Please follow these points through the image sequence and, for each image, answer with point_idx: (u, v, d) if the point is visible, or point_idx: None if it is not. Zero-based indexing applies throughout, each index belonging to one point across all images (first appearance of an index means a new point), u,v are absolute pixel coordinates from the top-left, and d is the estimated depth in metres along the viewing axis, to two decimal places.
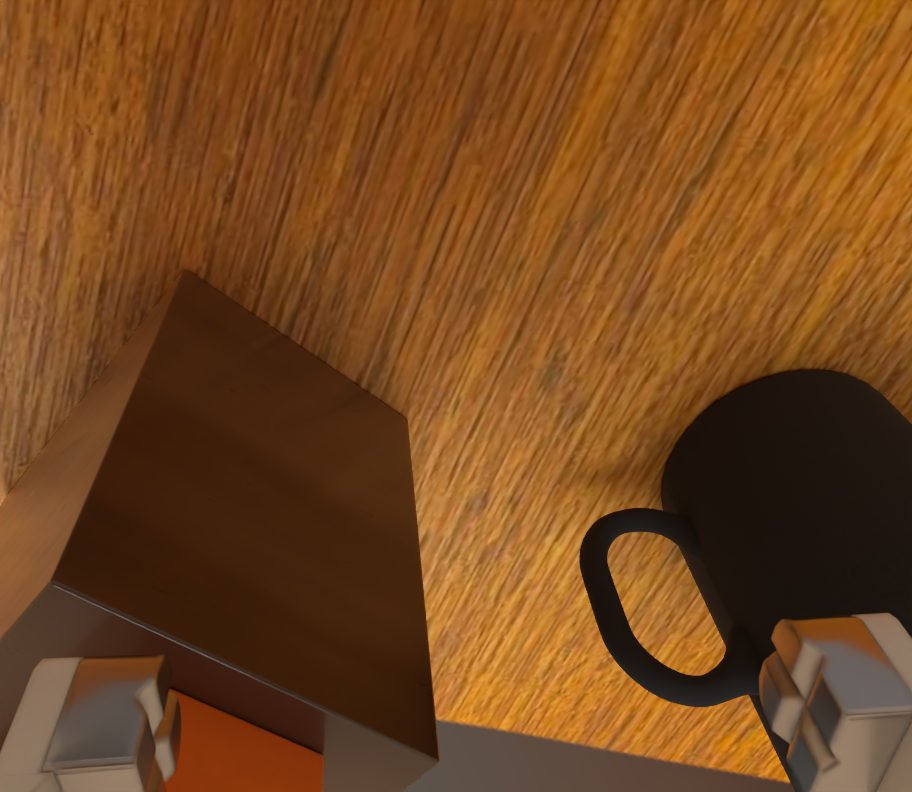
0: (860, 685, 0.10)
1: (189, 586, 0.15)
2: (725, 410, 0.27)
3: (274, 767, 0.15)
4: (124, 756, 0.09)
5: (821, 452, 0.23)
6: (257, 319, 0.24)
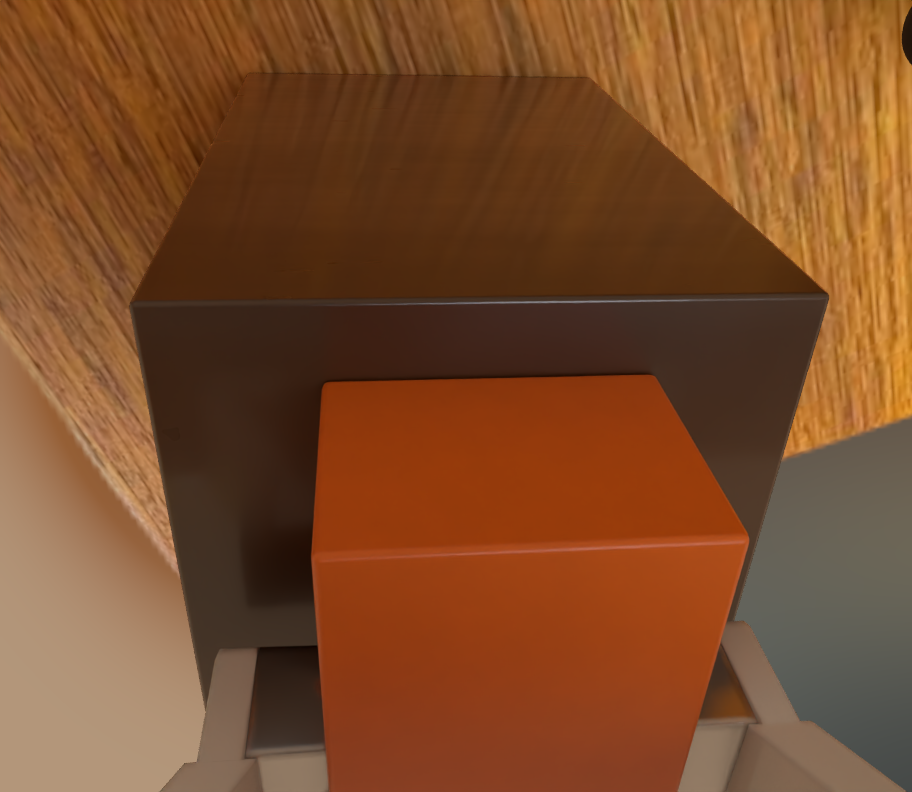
0: None
1: (334, 256, 0.10)
2: None
3: (580, 404, 0.10)
4: (322, 743, 0.09)
5: None
6: (352, 75, 0.19)
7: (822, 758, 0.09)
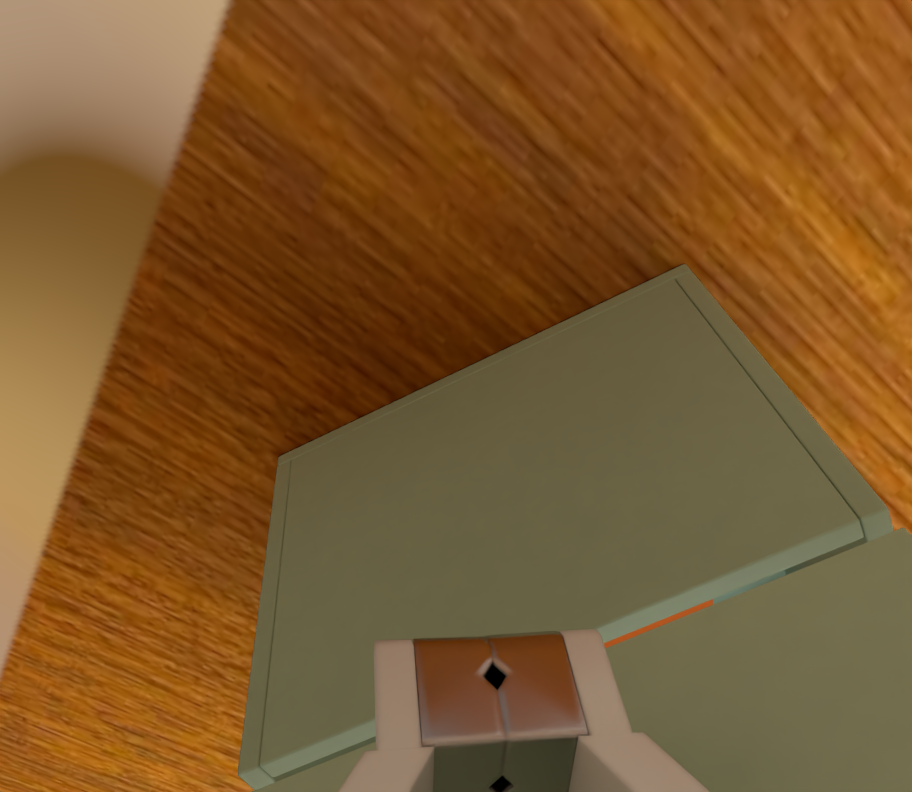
0: (533, 706, 0.10)
1: None
2: None
3: None
4: (494, 732, 0.09)
5: None
6: None
7: (645, 771, 0.09)
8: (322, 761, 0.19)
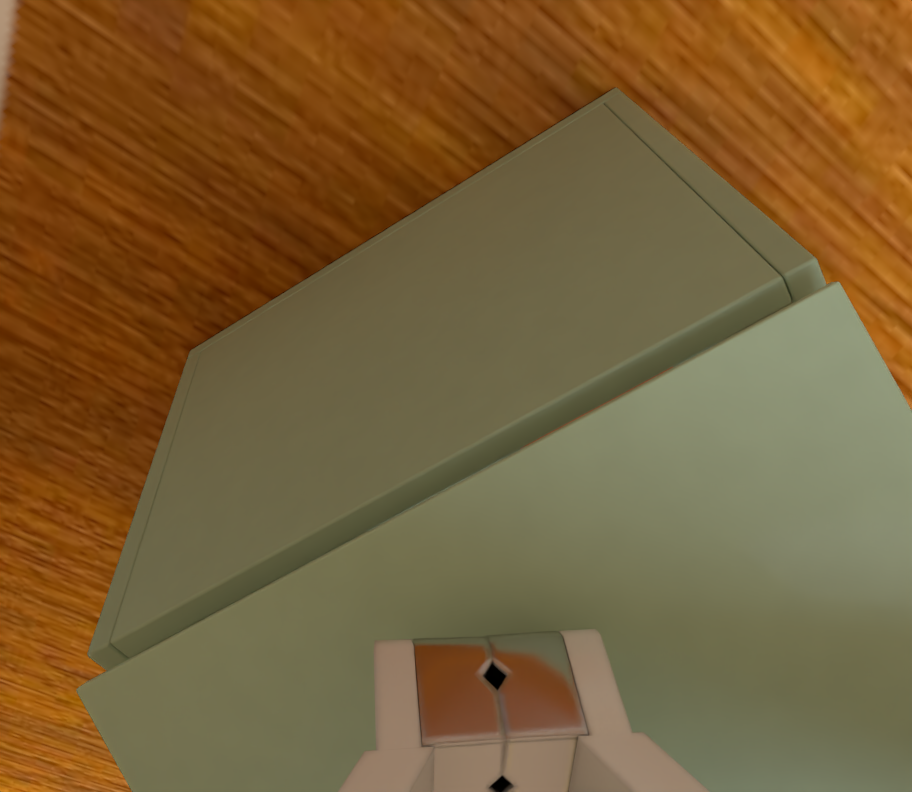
0: (534, 706, 0.10)
1: None
2: None
3: None
4: (494, 731, 0.09)
5: None
6: None
7: (646, 770, 0.09)
8: None
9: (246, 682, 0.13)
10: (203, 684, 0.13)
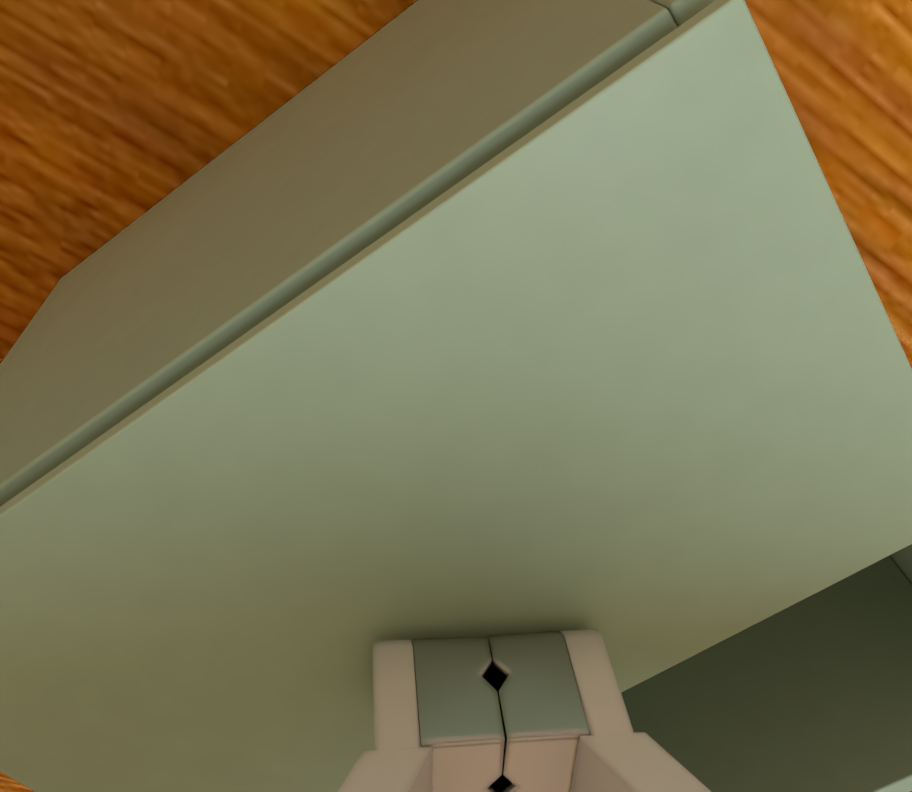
0: (535, 706, 0.10)
1: None
2: None
3: None
4: (493, 731, 0.09)
5: None
6: None
7: (647, 770, 0.09)
8: None
9: (30, 605, 0.10)
10: None
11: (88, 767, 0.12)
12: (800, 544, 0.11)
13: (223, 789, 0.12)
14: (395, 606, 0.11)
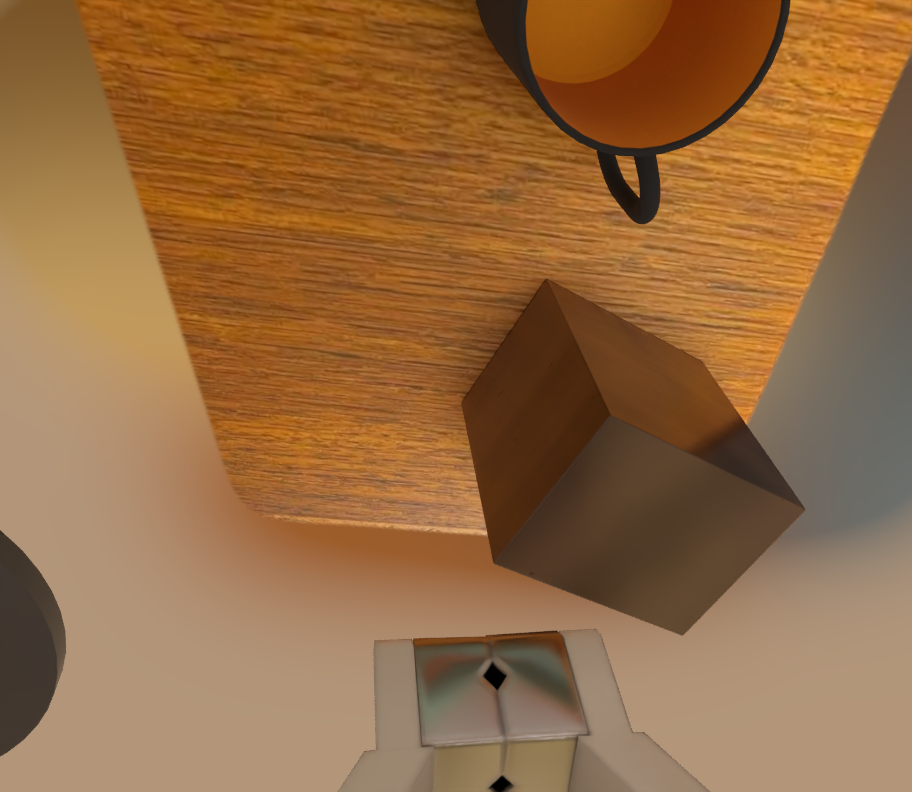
0: (533, 706, 0.10)
1: (517, 506, 0.34)
2: None
3: None
4: (494, 731, 0.09)
5: (503, 55, 0.31)
6: (485, 369, 0.43)
7: (645, 771, 0.09)
8: None
9: None
10: None
11: None
12: None
13: None
14: None
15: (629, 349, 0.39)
